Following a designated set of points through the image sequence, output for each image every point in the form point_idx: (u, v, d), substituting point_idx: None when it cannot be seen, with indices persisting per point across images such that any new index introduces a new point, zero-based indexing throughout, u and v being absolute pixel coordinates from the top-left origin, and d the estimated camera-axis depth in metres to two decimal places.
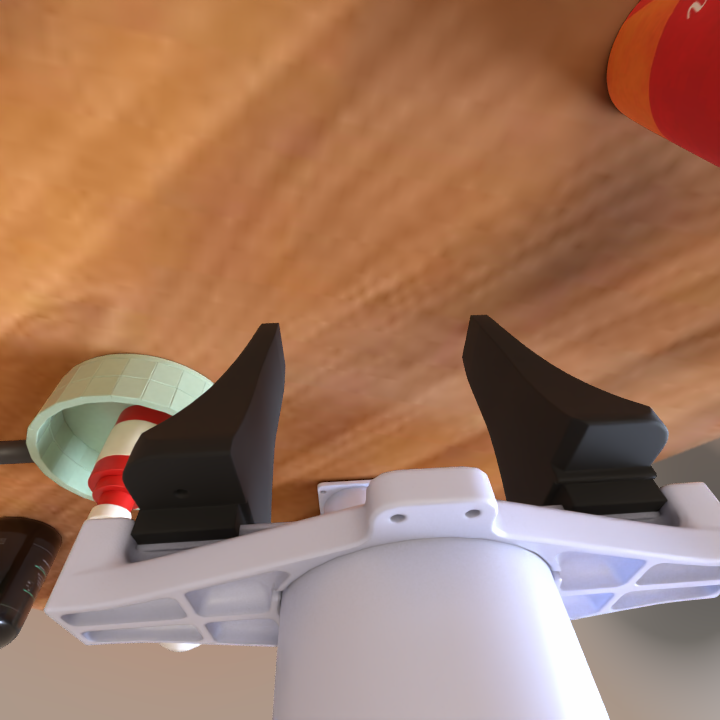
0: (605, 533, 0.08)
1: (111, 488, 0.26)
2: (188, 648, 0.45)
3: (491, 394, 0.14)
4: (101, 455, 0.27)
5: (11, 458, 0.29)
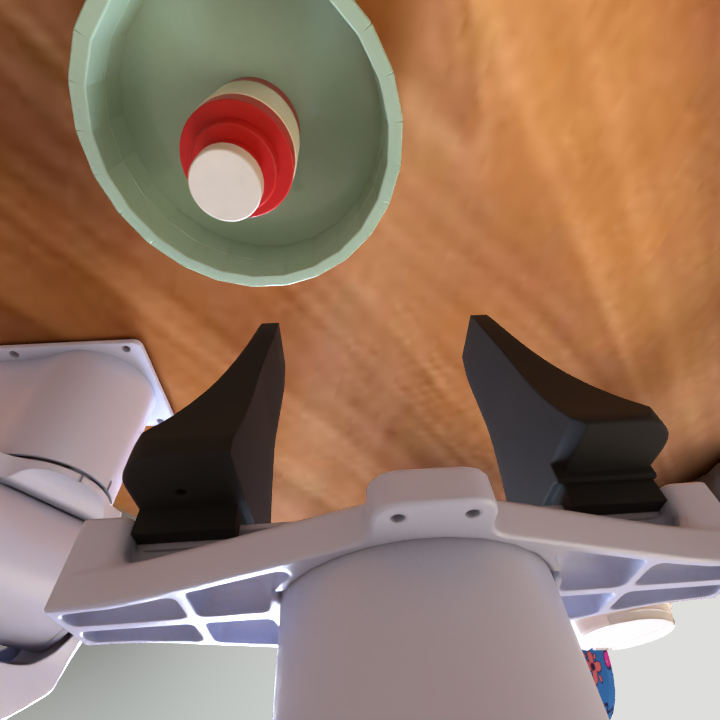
0: (605, 533, 0.08)
1: (269, 171, 0.15)
2: None
3: (491, 394, 0.14)
4: (283, 118, 0.16)
5: None
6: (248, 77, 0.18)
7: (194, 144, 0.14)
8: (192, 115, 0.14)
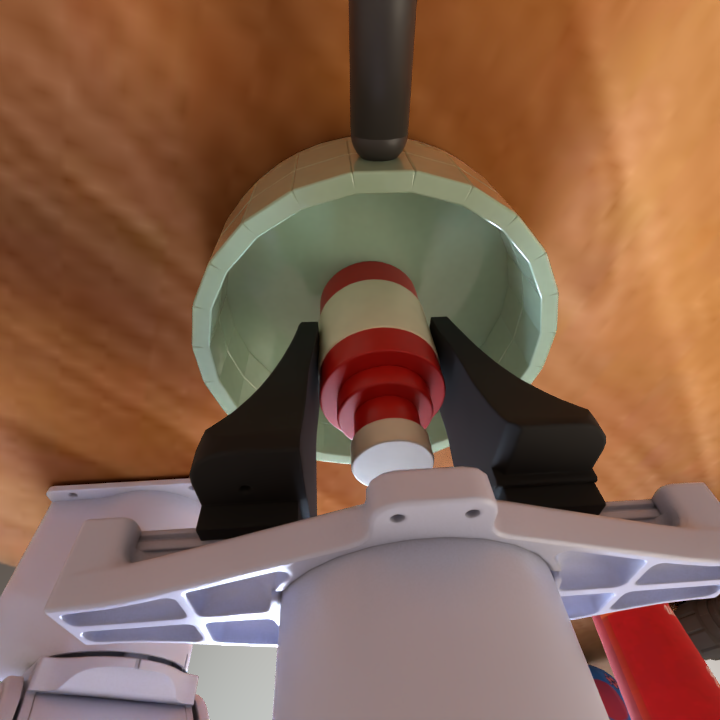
0: (605, 533, 0.08)
1: (425, 418, 0.13)
2: None
3: (448, 396, 0.14)
4: (431, 341, 0.14)
5: (392, 79, 0.10)
6: (371, 264, 0.16)
7: (347, 399, 0.12)
8: (344, 363, 0.13)
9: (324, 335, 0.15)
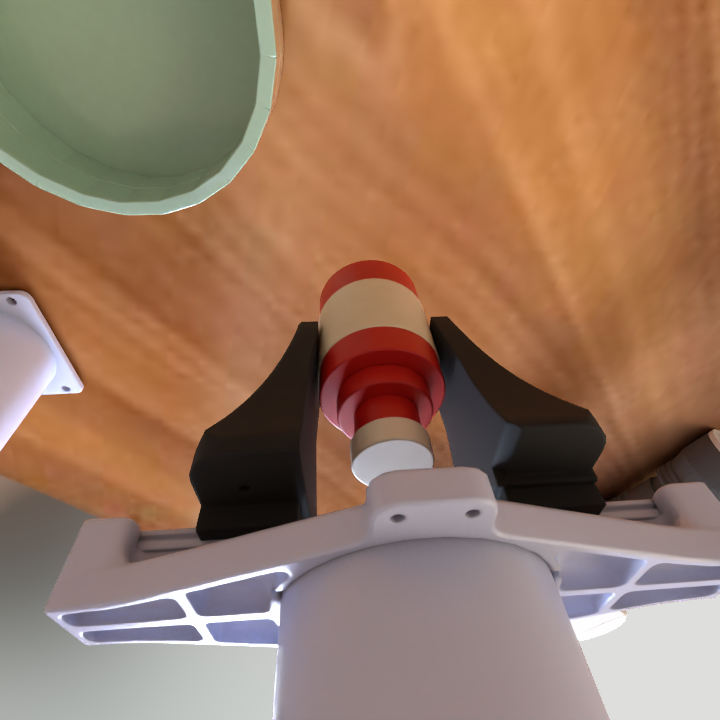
0: (605, 533, 0.08)
1: (425, 417, 0.13)
2: None
3: (448, 396, 0.14)
4: (431, 340, 0.14)
5: None
6: (371, 263, 0.16)
7: (347, 398, 0.12)
8: (343, 362, 0.13)
9: (324, 334, 0.14)
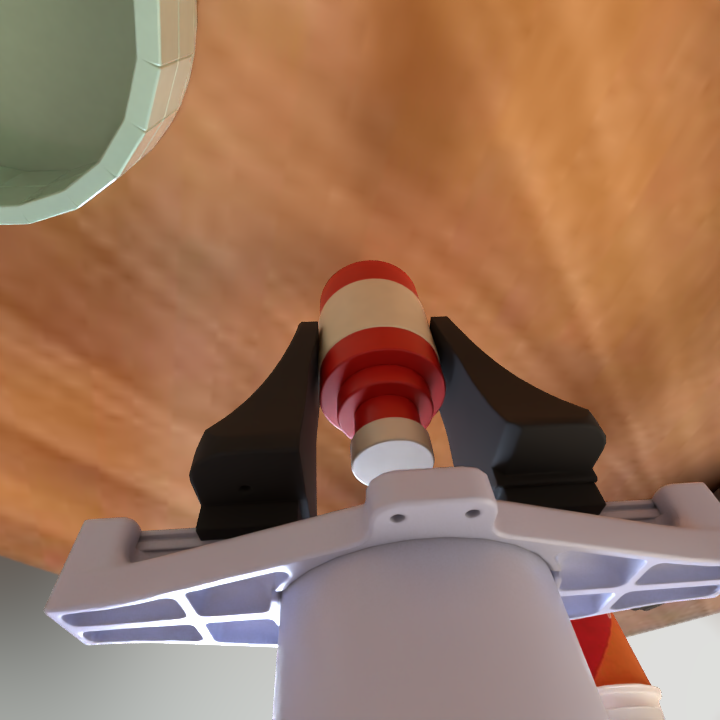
0: (605, 533, 0.08)
1: (425, 417, 0.13)
2: None
3: (448, 396, 0.14)
4: (431, 341, 0.14)
5: None
6: (371, 263, 0.16)
7: (347, 399, 0.12)
8: (344, 362, 0.13)
9: (324, 334, 0.14)
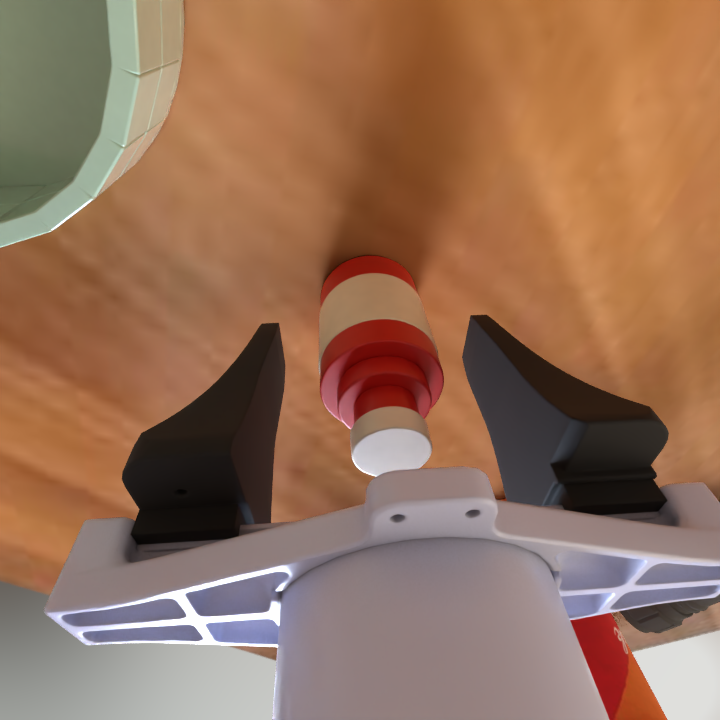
0: (605, 533, 0.08)
1: (423, 408, 0.13)
2: None
3: (491, 394, 0.14)
4: (430, 333, 0.14)
5: None
6: (371, 258, 0.17)
7: (347, 389, 0.13)
8: (344, 353, 0.13)
9: (324, 327, 0.15)
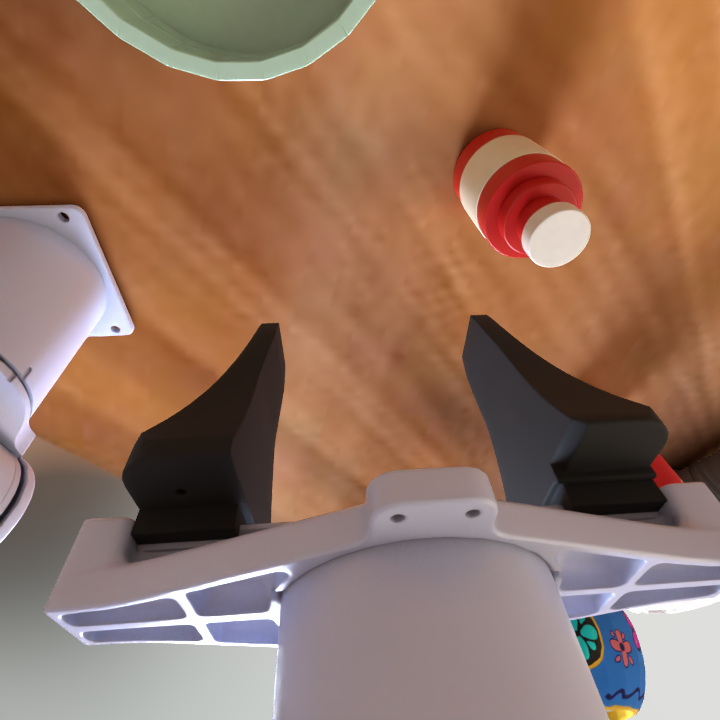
0: (605, 533, 0.08)
1: None
2: None
3: (491, 394, 0.14)
4: None
5: None
6: (504, 129, 0.20)
7: (517, 199, 0.16)
8: (513, 174, 0.17)
9: (480, 172, 0.19)
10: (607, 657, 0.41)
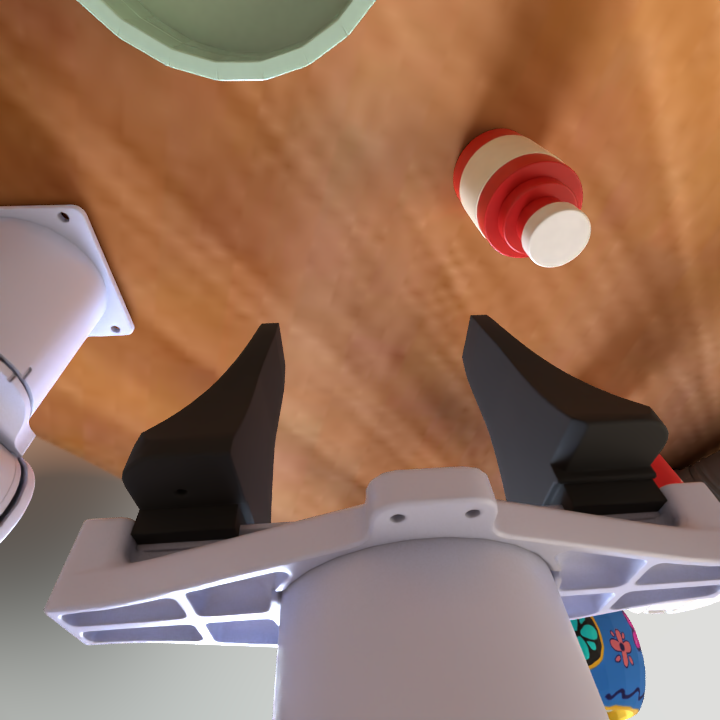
0: (605, 533, 0.08)
1: None
2: None
3: (491, 394, 0.14)
4: None
5: None
6: (504, 129, 0.20)
7: (517, 199, 0.16)
8: (513, 174, 0.17)
9: (480, 172, 0.19)
10: (607, 656, 0.41)
